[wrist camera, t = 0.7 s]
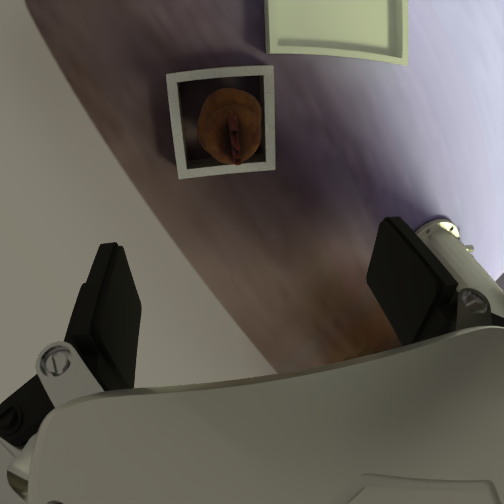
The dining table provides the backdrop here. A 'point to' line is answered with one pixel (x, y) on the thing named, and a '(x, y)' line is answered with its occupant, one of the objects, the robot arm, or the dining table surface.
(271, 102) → the white square bin
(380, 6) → the sage tray
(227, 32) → the dining table surface
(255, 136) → the brown lumpy elongated piece
